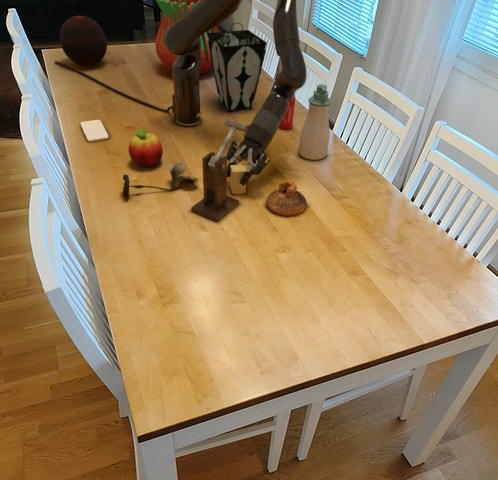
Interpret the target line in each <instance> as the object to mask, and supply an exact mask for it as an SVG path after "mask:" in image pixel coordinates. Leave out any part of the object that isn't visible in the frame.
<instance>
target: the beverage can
mask: <svg viewBox="0 0 498 480" xmlns="http://www.w3.org/2000/svg"><path fill="white" fill-rule="evenodd" d="M295 105H296V93H295V94H294V95H293V97H292V99H291V101H290V102H289V108H288V110H287V112H286V114H285V116H284V118H283V119H282V121H281V123H280V125H279V128H280V129H281V130H285V131H287V130H290V129H292V128H293V124H294V116H295V115H294V114H295Z"/></svg>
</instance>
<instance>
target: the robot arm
mask: <svg viewBox="0 0 498 480" xmlns="http://www.w3.org/2000/svg"><path fill="white" fill-rule="evenodd" d="M243 2H244V0H199V1H198V2H197V3H196V4H195V5H194V6H193V8H192V9H191V10H190V11H189V12H188V13H187V14H186V15H185V16H184V17H182V18H181V19H180V20H178V21H177V22H176V23H174V24H173V25H171V26H170V27H169V28H168V29H167V31H166V34H165V46H166V48H167V50H168V51H169V52H170V53H172V54H174V55H178V57H177V59H176V61H175V62H174V64H173V66H172V70H171V72H172V73H171V74H172V84H173V85H172V86H173V94H172V95H171V101H172V104H171V106H169V107H167V108H166V109H164V108H161V107H158V106H156V105H154V104H151V103H150V102H149V103H148V102H146V101H143V100H141V99H139V98H136V97H134V96H132V95H129V94H127V93H125V92H122V91H120V90H118V89H117V88H114V87H112V86H110V85H108V84H107V83H104V82H102V81H100V80H99V79H97V78H94V77H93V76H91V75H89V74H87V73H85V72H83V71H81V70H79V69H77V68H75V67H72V66H69V65H68V64H65V63H63V62H59V61H57V60H55V61H54V63H55V64H57V65H58V66H59V65H60V66H61V67H65V68H67V69H70V70H72V71H74V72H76V73H78V74H80V75H82V76H84V77H86V78H88V79H90V80H91V81H93V82H96V83H98V84H100V85H102V86H103V87H105V88H107V89H109V90H111V91H113V92H116V93H117V94H119V95H121V96H124V97H126V98H128V99H130V100H133V101H135V102H137V103H140V104H143V105H145V106H148V107H150V108H153V109H155V110H157V111H159V112H163V113H169V112H170V110H171V114H172V115H173V121H174V122H176V124H178V125H179V126H183V127H195V126H198V125H200V124H201V122H202V118H201V117H202V115H203V111H201V96H200V95H201V94H200V75H199V67H200V64H201V38H200V36H201V35H202V34H204V33H205V32H207V31H209V30H211V29H212V28H214V27H216V26H217V27H218V26H219V25H220V24H222V23H224V22H225V21H226V20H228V19H229V18H230V17H231V16H233V15H234V14H235V13H236V12H237V10H239V9H240V7H241V6H242V4H243ZM297 9H298V8H297V0H276V5H275V10H274V14H273V20H272V31H273V32H272V33H273V39H274V46H275V48H274V49H275V53H276V55H277V56H278V57H279V58H280V63H281V70H280V72H279V73H278V74H277V76H276V78H275V79H274V82H273V84H272V86H271V89H270V92H269V94H268V95H267V97H266V98H265V100H264V102H263V103H262V105H261V107H260V109H259V110H258V112H257V113H256V114H255V116H254V117H253V120H252V121H251V123H250V124H251V125H250V127H249V128H248V130H247V132H246V134H245V136H243V140H241V142H237V141H236V140H235V139H234V140H231V143H230V144H229V147H228V150H227V153H226V155H225V156H226V157H227V162H228V163H227V179H228V178H229V179H230V165H239V163H242V162H243V161H245V162H246V164H247V166H246V171H245V173H244V175H243V176H242V178H241V180H240V182H239V183H240V184H242V185H243V186H244V185H245V184H246V185H247V184H248V183H249V181H250V179H251V177H253V176H259V175H260V174H261V173H262V172H263V171H264V169H265V168H266V167H267V165H269V163H270V161H271V159H270V157H269V156H268V155H266V154H264V153H265V151H266V150H268V147H269V145H270V144H271V142H272V140H273V139H274V137H275V135H276V133H277V131H278V130H279V128H280V126H279V125H280V123H281V121H282V119H283V118H284V116H285V114H286V112H287V110H288V108H289V102H290V101H291V99H292V97H293V95H294V94H295V95H296V92H297V91H299V90H300V89H301V88H303V86H305V84H306V81H307V77H308V76H307V75H308V74H307V73H308V72H307V65H306V62H305V57H304V55H303V52H302V48H301V41H300V39H301V38H300V32H299V23H298V11H297ZM258 160H259V161H258Z"/></svg>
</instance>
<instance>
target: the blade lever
mask: <svg viewBox="0 0 498 480" xmlns="http://www.w3.org/2000/svg"><path fill="white" fill-rule="evenodd" d="M223 124H224V127H228V128H230V130H229V131H228V132H227V135H226V137H225V139H224V140H223V143H222V144H221V146H220V147H219V150H218V151H217V153H216V154H215V156H212V157H211V159H210V161H209V163H208V166H209V167H210V169H212V170H215V162H216V161H217V160H219V159H220V158H222V157H223V156H224V153H225V152H226V150H227V148H228V146H229V145H230V142H232V139H233V137H234V135H235V134H236V132H237V131H240V132H242V131H243V132H246V130H247V129H248V128H247V126H246V125H247V124H243V123H240V122H236V121H232V120H229V119H225V121H224V122H223Z"/></svg>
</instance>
